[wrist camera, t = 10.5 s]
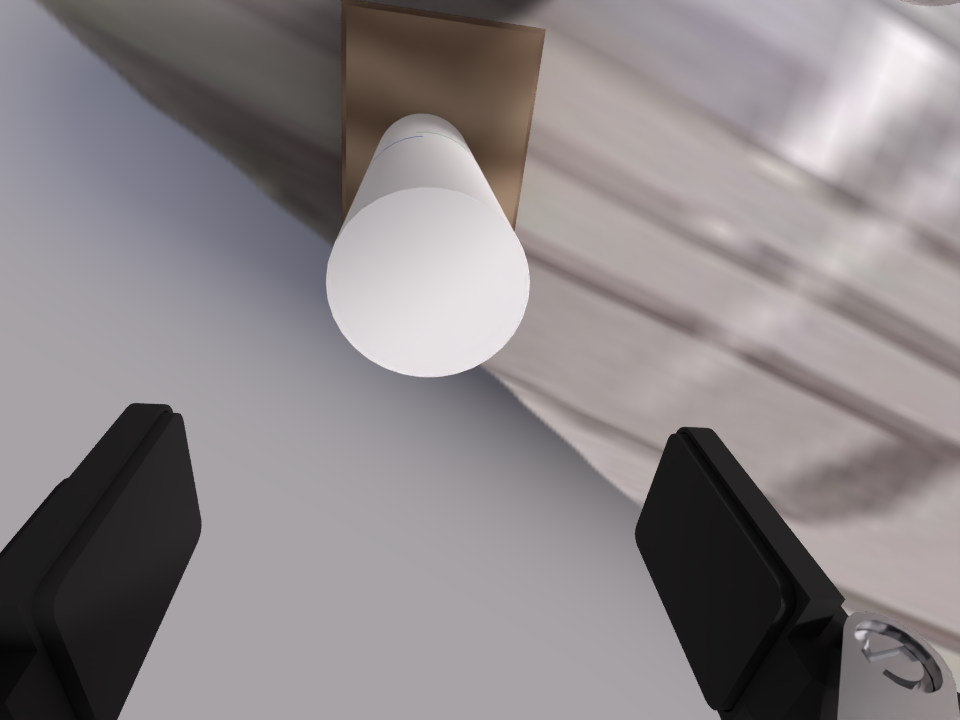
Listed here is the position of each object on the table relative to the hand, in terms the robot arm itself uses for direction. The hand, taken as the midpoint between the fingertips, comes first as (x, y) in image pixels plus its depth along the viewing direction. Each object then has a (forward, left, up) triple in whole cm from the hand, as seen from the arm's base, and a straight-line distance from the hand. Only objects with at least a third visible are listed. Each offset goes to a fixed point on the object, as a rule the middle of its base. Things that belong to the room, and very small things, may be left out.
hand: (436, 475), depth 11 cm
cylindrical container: (0, 0, -35) cm, 35 cm away
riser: (-2, +1, -41) cm, 41 cm away
